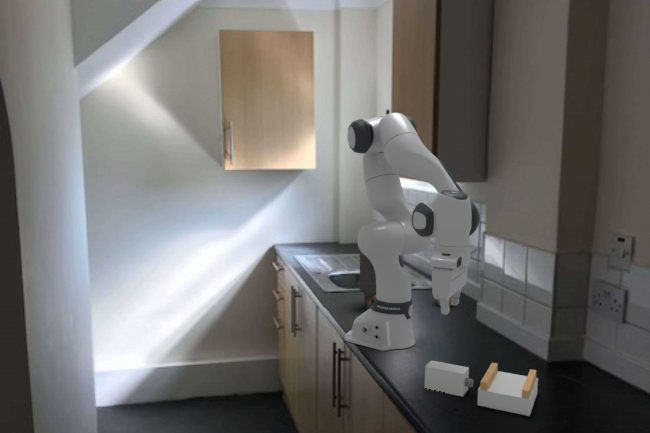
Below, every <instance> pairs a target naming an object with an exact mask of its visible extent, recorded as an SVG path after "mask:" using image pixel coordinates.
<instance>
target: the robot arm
mask: <svg viewBox="0 0 650 433" xmlns="http://www.w3.org/2000/svg"><path fill="white" fill-rule="evenodd" d="M346 139H347V142H348V145H349V148H350V149H351V150H352V151H353V153H356V154H363V155H362V156H363V157H362V168H363V169H362V170H363V179H364V185H365V188H366V193H367V197H368V203H369V206H370V207H371V209H373V210H374V211H375V212H377V213H379V214H380V215H381V216H382V217H383V218H384V219H385V221H376V222H372V223H369V224H366V225H364V226H362V227H361V228H360V230H359V232H358V234H357V240H356V241H357V246H358V249H359V252H360V251H361V252H362V253H363V254H364V255H365V256H366V257H367V258H368V259H369V260H370V261H371V263H372V265H373V267H374V270H375V274H376V295H375V296H374V297H373V298H372V299H371V300H370V301H369V302H370V303H369V305H370V304H371V308H370V309H368V310H367V309H366V311H365V310H364V312H363V313H361V314H360V315H358V316H357V317H356V318H355V319H354V321H353V323H352V327H351V330H349V331H348V332H346V333H345V334H344V335H345V336H344V341H346V342H347V343H352V344H356V345H360V346H364V347H367V348H370V349H374V350H379V351H384V352H385V351H391V350H400V349H401V350H402V349H407V348H411V347H413V346H414V345H415V344H416V340H415V336H414V331H413V325H412V324H413V323H412V317H413V309H414V308H413V307H414V305H413V299H412V274H411V273H410V271H408V270H407V269H406V268H404V267H402V265H401V264H400V256H406V255H407V256H408V255H413V254H414V255H415V254H418V253H420V252H422V251H425V250H426V249H428V248H429V247H430V244H431V243H432V242H431V241H432V238H434V249H433V253H432V255H431V257H430V260H429V266H430V267H431V268H432V271H431V293H432V297H433V299H434V300H436V299H439V302H440V314H441V315H447V316H448V315H449V313H450V308H451V306H449V298H450V297H451V296H452V298H451V304H452V306H458V305H459V304H460V297H461V292H462V288H463V287H464V286H466V285H467V281H468V265H469V264H470V263H471V243H472V242H471V239H470V237H471V236H472V235H473V234H474V233H475V232H476V231H477V229H478V228H479V225H480V222H481V215H480V211H479V209H478V207H477V206H476V204H475V203H474V202H473V200H471V198H470V195H469V194H467V193H465V192H464V191H463V190H462V188H461V187H460V184H458V182H457V180H456V179H455V177H454V176H453V175H452V173H451V172H450V171H449V169H448V167H447V166H446V165H445V163H444V162H443V161H442V160H441V159H440V158H438V157H437V156H435V155H434V154H433V153H432V152H431V151H430V150H429V149H428V148H427V147H426V146H425V145H424V143H423V142H422V140H421V138H420V137H419V134H418V128H417V124H416V122H415V120H414V118H413V117H411V116H410V115H406V114H403V113H400V112H390V113H387V114H385V115H379V116H375V117H370V118H365V119H363V118H360V119H357V120H353V121H352V122H350V125H349V126H348V128H347V138H346ZM400 175H402V176H405V177H410V178H414V179H417V180H421V181H423V182H426V183H427V184H430V185H431V186H432V187H433V188H434V189H435V191H436V192H437V195H436V196H435V197H434V198H432V199H428V200H426V201H425V200H424V201H422V202H419V203H418V204H416V205H415V207H414V208H413V210H412V209H411V207H410V205H409V204H408V201H407V199H406V198H405V194H404V191H403V187H402V182H401V179H400Z"/></svg>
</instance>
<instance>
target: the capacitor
mask: <svg viewBox="0 0 650 433" xmlns="http://www.w3.org/2000/svg"><path fill="white" fill-rule="evenodd" d="M358 283H359V286H358V288H359V290H360V291H361V293H363V295H364V307H363V308H364V309H365V310H366V311H367V310H368V309H370V308H371V304H370V305H369V303H370V302H369V301H370V300H371V299H372V298H373V297H374V296H375V295H376V274H375V270H374V267H373V265H372V263H371V261H370V260H369V259H368V258H367V257H366V256H365V255H364V254H363V253H362V252H361V251H360V250H359V279H358Z"/></svg>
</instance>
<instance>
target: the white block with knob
mask: <svg viewBox="0 0 650 433" xmlns="http://www.w3.org/2000/svg"><path fill="white" fill-rule="evenodd" d="M469 376H470V367H467V366H463V365H457V364H453V363H446V362H441V361H436V360H430V361H429V362H427V364H426V365H425V366H424V389H425V388H427V389H426V390H429V389H431V390H430V391H434V390H436V391H435V392H439V391H441V392H440V393H443V392H445V394H448V395H453V396H458V397H462V398H463V397H464V396H465V395H466V393H467V391H469V388H473V386H474V379H473V378H470V377H469Z"/></svg>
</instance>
